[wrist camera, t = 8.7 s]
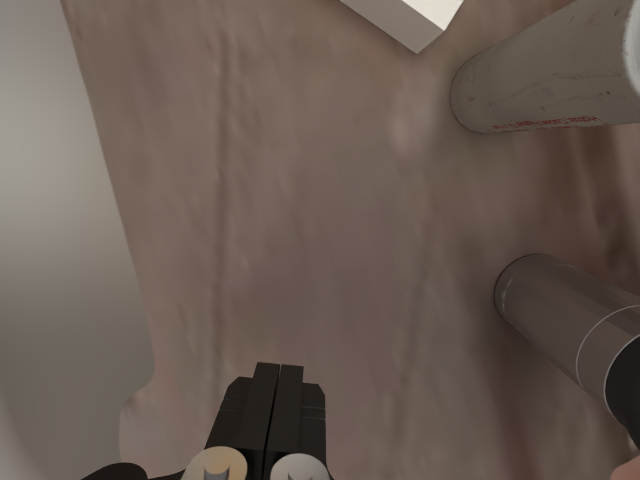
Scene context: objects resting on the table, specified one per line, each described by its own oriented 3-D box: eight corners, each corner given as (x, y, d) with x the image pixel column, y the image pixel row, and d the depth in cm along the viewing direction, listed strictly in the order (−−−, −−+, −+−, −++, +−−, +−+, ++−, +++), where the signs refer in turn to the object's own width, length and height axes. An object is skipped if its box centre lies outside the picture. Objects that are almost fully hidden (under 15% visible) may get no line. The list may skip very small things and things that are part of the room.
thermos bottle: (517, 136, 40) (956, 116, 13) (444, 130, 40) (735, 97, 12) (533, 55, 38) (1091, -171, 11) (456, 48, 38) (832, -203, 11)
